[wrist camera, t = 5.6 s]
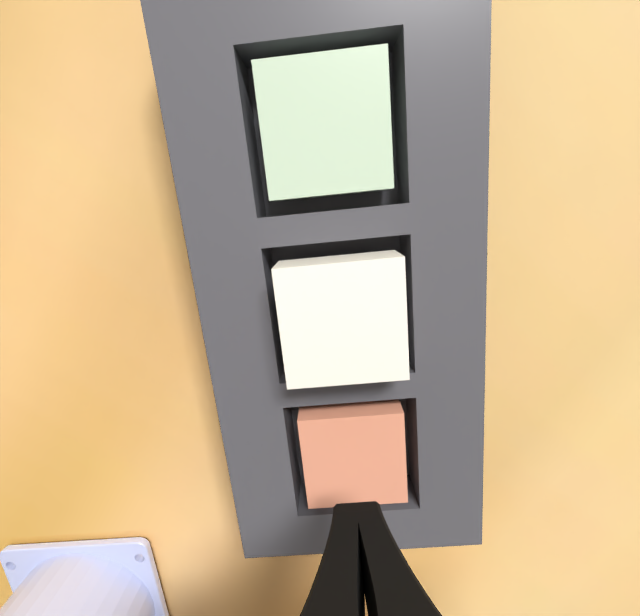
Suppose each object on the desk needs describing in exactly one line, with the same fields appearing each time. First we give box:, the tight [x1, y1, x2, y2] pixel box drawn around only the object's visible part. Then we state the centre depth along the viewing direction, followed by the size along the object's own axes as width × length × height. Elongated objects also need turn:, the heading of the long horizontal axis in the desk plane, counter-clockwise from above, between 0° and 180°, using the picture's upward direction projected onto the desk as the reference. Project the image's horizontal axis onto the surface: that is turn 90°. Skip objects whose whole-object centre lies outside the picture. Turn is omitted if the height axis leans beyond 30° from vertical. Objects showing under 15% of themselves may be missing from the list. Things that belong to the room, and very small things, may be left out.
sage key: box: [251, 43, 394, 202], centre depth 12 cm, size 4×4×2 cm
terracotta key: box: [297, 399, 408, 509], centre depth 15 cm, size 4×4×2 cm
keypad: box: [140, 0, 491, 558], centre depth 15 cm, size 21×10×3 cm, turn 6°
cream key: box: [271, 250, 410, 390], centre depth 13 cm, size 4×4×2 cm
